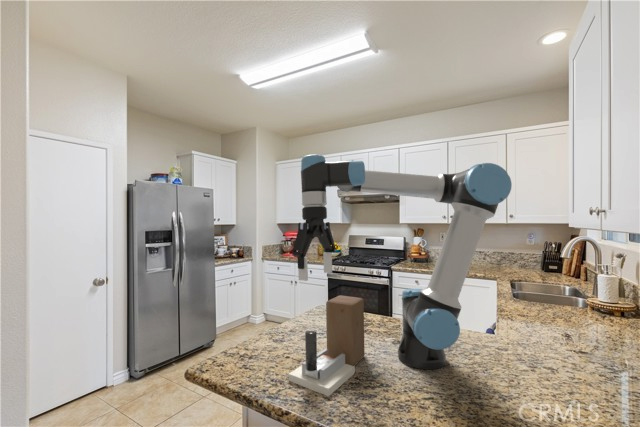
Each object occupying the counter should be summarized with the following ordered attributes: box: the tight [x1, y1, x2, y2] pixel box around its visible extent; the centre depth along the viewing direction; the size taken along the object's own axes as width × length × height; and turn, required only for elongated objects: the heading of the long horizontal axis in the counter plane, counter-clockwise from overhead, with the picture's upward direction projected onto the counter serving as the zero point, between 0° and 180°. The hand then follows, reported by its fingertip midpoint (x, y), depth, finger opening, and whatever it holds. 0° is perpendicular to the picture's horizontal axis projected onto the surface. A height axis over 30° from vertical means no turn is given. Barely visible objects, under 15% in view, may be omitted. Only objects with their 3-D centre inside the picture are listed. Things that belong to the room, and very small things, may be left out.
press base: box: [288, 348, 356, 397], centre depth 88 cm, size 14×14×5 cm
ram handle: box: [304, 330, 335, 379], centre depth 87 cm, size 4×11×12 cm, turn 145°
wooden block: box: [325, 295, 366, 367], centre depth 100 cm, size 10×10×20 cm
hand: (316, 276), depth 90 cm, fingers open, 13 cm apart
